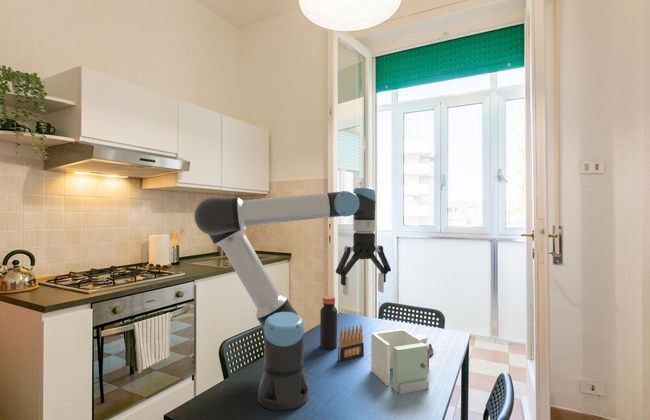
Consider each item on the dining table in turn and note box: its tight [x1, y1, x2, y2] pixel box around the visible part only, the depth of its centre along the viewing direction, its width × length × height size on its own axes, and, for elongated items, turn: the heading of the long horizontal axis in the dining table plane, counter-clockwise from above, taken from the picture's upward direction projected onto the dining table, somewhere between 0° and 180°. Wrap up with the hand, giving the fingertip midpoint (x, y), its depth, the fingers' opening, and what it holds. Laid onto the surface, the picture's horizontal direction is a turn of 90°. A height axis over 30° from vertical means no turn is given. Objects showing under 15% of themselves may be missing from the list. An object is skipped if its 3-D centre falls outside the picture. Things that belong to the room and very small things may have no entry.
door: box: [392, 343, 428, 393], centre depth 108 cm, size 11×3×13 cm, turn 110°
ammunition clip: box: [337, 324, 365, 362], centre depth 130 cm, size 11×2×12 cm, turn 121°
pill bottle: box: [414, 333, 430, 371], centre depth 122 cm, size 6×6×11 cm
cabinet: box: [370, 328, 430, 395], centre depth 114 cm, size 13×17×13 cm
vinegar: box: [319, 295, 338, 351], centre depth 140 cm, size 7×7×20 cm
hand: (363, 293), depth 120 cm, fingers open, 13 cm apart
